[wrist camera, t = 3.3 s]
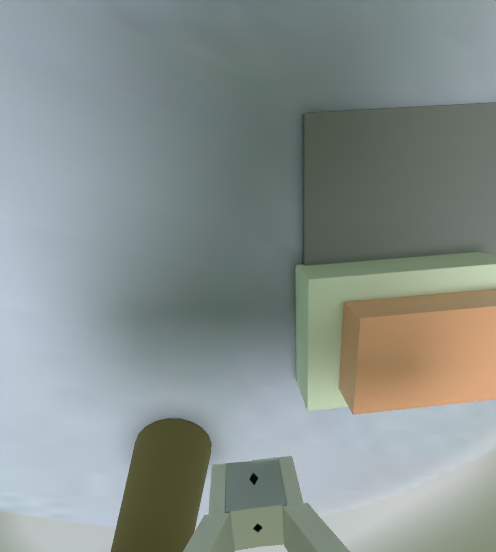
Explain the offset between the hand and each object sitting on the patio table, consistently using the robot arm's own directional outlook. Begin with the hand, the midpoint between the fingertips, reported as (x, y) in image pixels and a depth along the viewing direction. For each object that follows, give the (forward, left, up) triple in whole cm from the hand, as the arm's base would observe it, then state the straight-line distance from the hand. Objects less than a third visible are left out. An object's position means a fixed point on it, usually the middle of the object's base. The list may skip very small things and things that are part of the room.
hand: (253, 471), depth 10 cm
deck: (-1, +10, -9) cm, 13 cm away
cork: (+9, -6, -9) cm, 14 cm away
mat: (-6, +15, -9) cm, 18 cm away
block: (-1, +10, -6) cm, 12 cm away
